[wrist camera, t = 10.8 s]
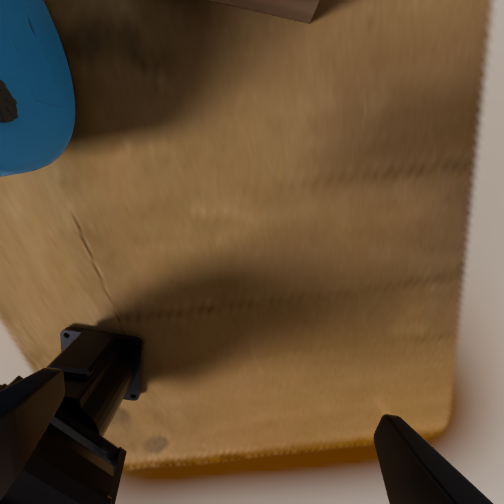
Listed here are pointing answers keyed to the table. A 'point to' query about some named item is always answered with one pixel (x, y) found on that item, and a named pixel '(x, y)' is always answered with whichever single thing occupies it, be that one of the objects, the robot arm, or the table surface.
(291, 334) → the table surface
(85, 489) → the robot arm
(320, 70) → the table surface
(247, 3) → the socket block
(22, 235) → the table surface
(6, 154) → the alarm clock
